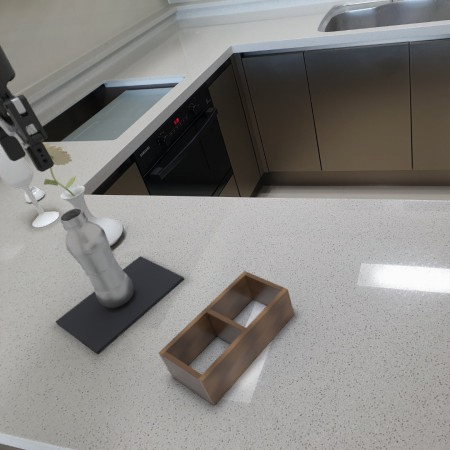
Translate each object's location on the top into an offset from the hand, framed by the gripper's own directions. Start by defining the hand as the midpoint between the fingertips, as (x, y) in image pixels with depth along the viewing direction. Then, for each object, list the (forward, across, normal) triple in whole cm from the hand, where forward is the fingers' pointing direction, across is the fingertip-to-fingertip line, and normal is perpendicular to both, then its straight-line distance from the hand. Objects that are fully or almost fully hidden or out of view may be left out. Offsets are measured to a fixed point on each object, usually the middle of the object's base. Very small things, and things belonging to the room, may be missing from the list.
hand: (32, 163), depth 66 cm
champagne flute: (+31, -48, +10) cm, 58 cm away
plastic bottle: (+31, -2, +2) cm, 31 cm away
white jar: (+31, -61, +15) cm, 70 cm away
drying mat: (+32, -3, +2) cm, 32 cm away
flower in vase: (+32, -25, +11) cm, 42 cm away
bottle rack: (+32, +24, +6) cm, 41 cm away
